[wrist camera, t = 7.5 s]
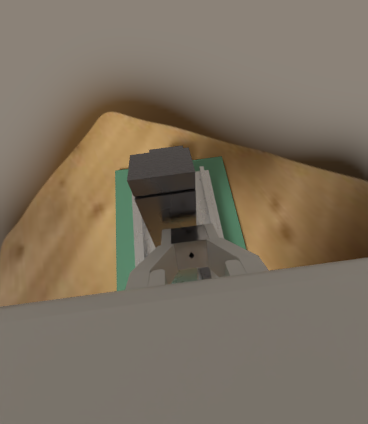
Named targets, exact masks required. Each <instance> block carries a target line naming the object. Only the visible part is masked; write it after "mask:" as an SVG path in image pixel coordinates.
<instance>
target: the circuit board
mask: <svg viewBox="0 0 368 424" xmlns="http://www.w3.org/2000/svg"><path fill="white" fill-rule="evenodd" d="M192 162H193V165H194V169H195V172H197V171H199V167H201V166H204V170H209V175H210V179H211V183H212V188H213V192H214V197H215V201H216V206H217V210H218V214H219V219H220V223H221V228H222V232H223V236H224V239H226V240H228V241H230V242H232V243H234V244H236V245H238V246H240V247H241V248H243V249H245V250H246V247H245V243H244V239H243V235H242V232H241V228H240V224H239V220H238V216H237V213H236V209H235V205H234V201H233V198H232V194H231V190H230V186H229V182H228V179H227V175H226V171H225V167H224V164H223V160H222V156H221V157H213V158H206V159H198V160H192ZM127 176H128V169H124V170H117V171H115V182H116V260H117V291H122V290H125V288H126V285H127V281H128V278H129V274H130V272H131V271H132V270H133V269H134V268H135V250H134V230H133V209H132V191H131V189H130V187H129V184H128V182H127Z"/></svg>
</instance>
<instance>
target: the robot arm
mask: <svg viewBox="0 0 368 424" xmlns="http://www.w3.org/2000/svg"><path fill="white" fill-rule="evenodd" d="M199 267H208V268H209V269H210V270H212V271H213V272H214V273H215V274H216V275H217V276H218V277H219V278H211V279H204V280H196V281H189V282H181V283H174V284H171V283H172V281H173V279H174V278H175V276H176V274H177V272H178V270H184V269H190V268H199ZM0 424H368V257H367V258H360V259H352V260H345V261H337V262H330V263H322V264H315V265H308V266H300V267H293V268H285V269H278V270H270V271H269V270H268V269H267V267H266V266H265V265H264V263H263V262H262V260H261V259H260V258H259V256H257V255H255V254H253V253H251V252H249V251H247V250H245V249H243V248H241V247H240V246H238V245H236V244H234V243H232V242H230V241H228V240H226V239H224V238H219V236H218V234H217V232H216V230H215V228H214V225H213V224H212V223H209V224H202V225H196V226H189V227H179V228H169V229H163V230H162V237H161V245H160V246H158V247H157V248H155V249H154V250H153V251H152V252H151V253H150V254H149V255H148V256H147V257H146V258H145V259H144V260H143V261H142V262H141V263H140V264H139V265H138V266H136V267H135V268H134V269H133V270H132V271H131V272H130V274H129V278H128V281H127V285H126V288H125V290H122V291H114V292H107V293H99V294H92V295H85V296H77V297H70V298H62V299H55V300H47V301H40V302H33V303H25V304H18V305H10V306H3V307H0Z"/></svg>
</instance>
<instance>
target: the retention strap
mask: <svg viewBox="0 0 368 424" xmlns="http://www.w3.org/2000/svg"><path fill="white" fill-rule="evenodd" d="M127 182H128V184H129V187H130V189H131V191H132V194H133V196H134V197H135V198H134V200H135V202H136V205H137V207H138V209H139V211H140V214H141V216H142V218H143V220H144V223H145V225H146V227H147V229H148V232H149V234H150V236H151V239H152V241H153V243H154V245H155V248H157V247H158V246H160V245H161V237H162V230H163V229H169V228H179V227H189V226H196V190H195V169H194V165H193V162H192V158H191V155H190V151H189V148H181V149H174V150H166V151H159V152H151V153H144V154H136V155H130V161H129V169H128V176H127ZM196 280H197V268H190V269H184V270H178V272H177V274H176V276H175V278H174V279H173V281H172V283H171V284H174V283H181V282H189V281H196Z"/></svg>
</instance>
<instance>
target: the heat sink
mask: <svg viewBox="0 0 368 424" xmlns="http://www.w3.org/2000/svg"><path fill="white" fill-rule="evenodd" d="M181 148H183V146H175V147H168V148H160V149H153V150H149V152H150V153H151V152H159V151H166V150H174V149H181ZM195 190H196V225H202V224H209V223H212V224H213V225H214V228H215V230H216V232H217V234H218V236H219V238H224V236H223V232H222V228H221V223H220V219H219V214H218V210H217V206H216V201H215V197H214V192H213V188H212V183H211V179H210V175H209V170H204V166H201V167H199V171H197V172H195ZM134 198H135V197H134V196H133V194H132V209H133V230H134V250H135V267H136V266H138V265H139V264H140V263H141V262H142V261H143V260H144V259H145V258H146V257H147V256H148V255H149V254H150V253H151V252H152V251H153V250H154V249H155V245H154V243H153V241H152V239H151V236H150V234H149V232H148V229H147V227H146V225H145V223H144V220H143V218H142V216H141V214H140V211H139V209H138V207H137V205H136V202H135V200H134ZM211 278H219V277H218V276H217V275H216V274H215V273H214V272H213V271H212V270H210V269H209V268H208V267H199V268H197V280H204V279H211Z"/></svg>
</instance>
